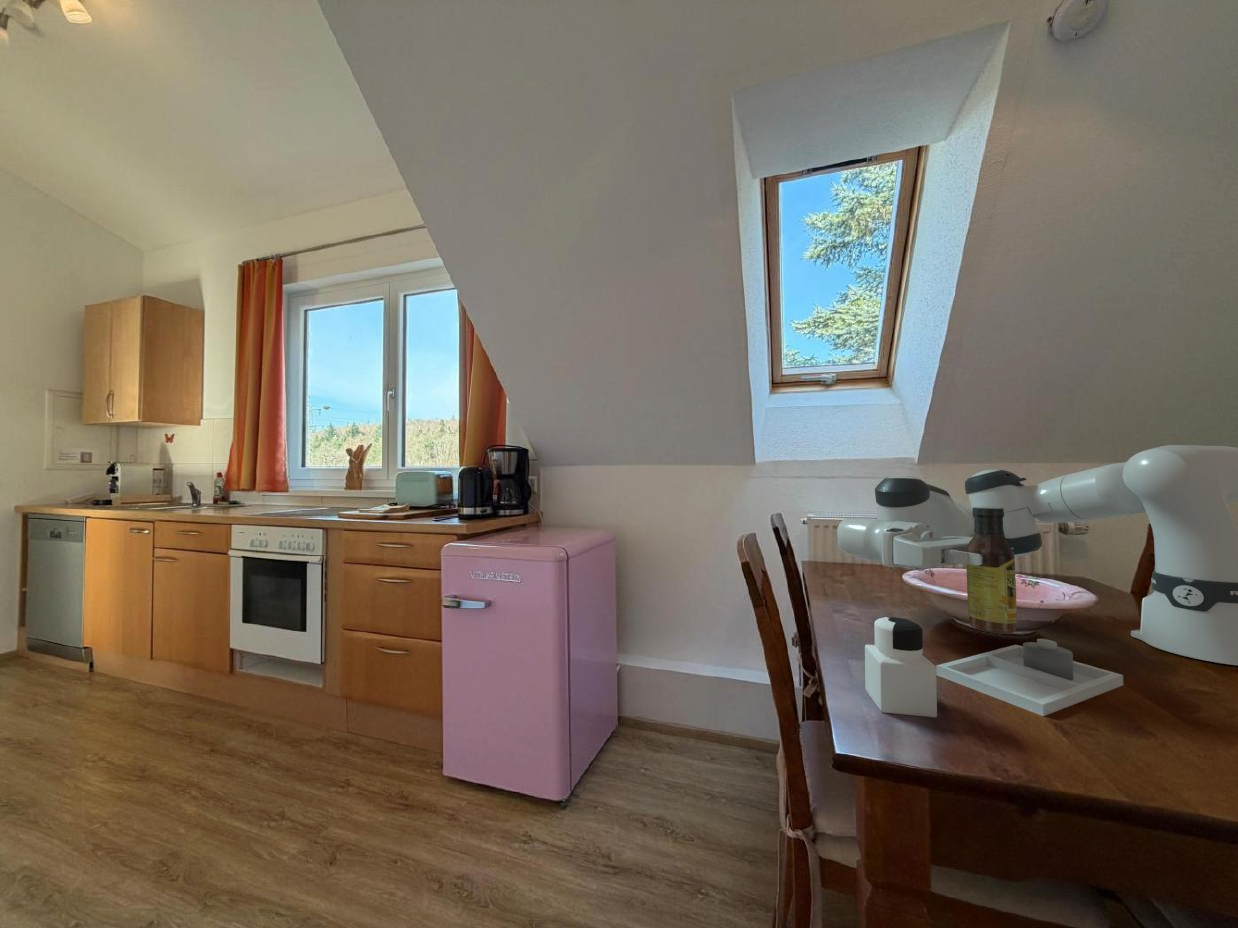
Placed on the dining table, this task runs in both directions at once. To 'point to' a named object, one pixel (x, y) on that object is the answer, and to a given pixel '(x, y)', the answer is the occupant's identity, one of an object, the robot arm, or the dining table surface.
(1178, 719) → the dining table surface
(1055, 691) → the white rectangular tray
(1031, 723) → the dining table surface
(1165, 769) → the dining table surface
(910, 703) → the medicine bottle
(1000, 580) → the sauce bottle
